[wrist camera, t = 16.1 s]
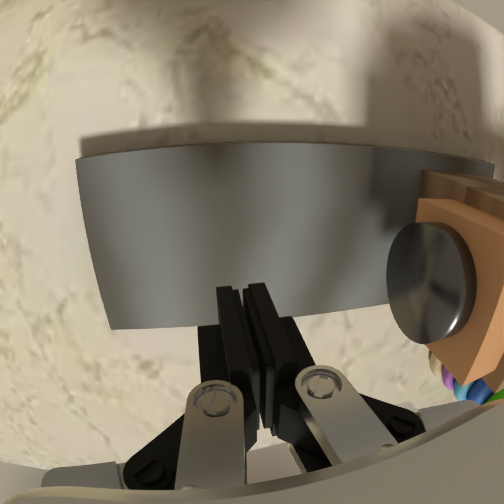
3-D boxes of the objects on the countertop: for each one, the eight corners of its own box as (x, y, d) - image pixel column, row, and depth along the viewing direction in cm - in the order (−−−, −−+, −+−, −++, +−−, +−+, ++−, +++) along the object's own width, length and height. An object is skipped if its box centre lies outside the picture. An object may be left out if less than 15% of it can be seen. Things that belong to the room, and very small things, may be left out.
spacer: (397, 315, 15) (461, 386, 10) (418, 198, 13) (514, 241, 7) (430, 308, 16) (495, 369, 10) (453, 199, 13) (542, 239, 8)
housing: (114, 319, 18) (72, 480, 8) (82, 156, 14) (-75, 238, 4) (460, 282, 21) (548, 363, 11) (485, 161, 17) (607, 213, 7)
